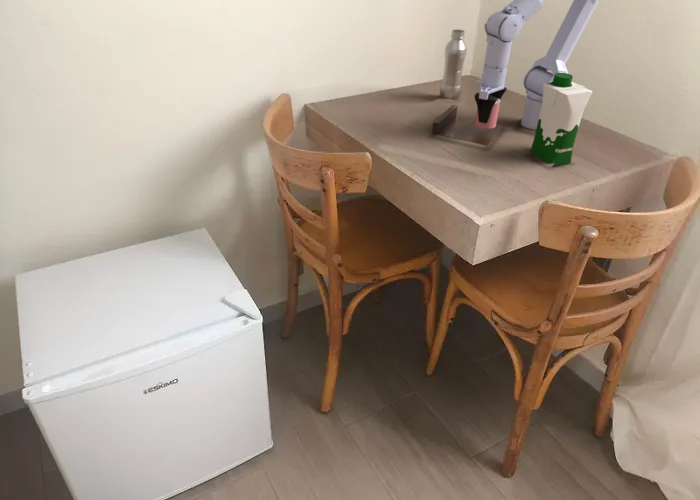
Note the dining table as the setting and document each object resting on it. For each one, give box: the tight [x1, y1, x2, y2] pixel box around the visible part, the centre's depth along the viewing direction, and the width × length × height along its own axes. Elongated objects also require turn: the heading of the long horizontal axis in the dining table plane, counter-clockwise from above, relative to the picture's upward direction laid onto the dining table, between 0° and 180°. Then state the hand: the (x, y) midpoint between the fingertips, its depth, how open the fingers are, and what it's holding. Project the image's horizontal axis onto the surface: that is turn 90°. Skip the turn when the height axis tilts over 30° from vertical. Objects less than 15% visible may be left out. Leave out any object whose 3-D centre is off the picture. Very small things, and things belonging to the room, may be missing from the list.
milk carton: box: [529, 73, 593, 167], centre depth 126 cm, size 9×9×20 cm
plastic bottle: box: [439, 29, 468, 101], centre depth 160 cm, size 6×7×20 cm
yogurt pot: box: [474, 97, 502, 129], centre depth 139 cm, size 6×6×7 cm
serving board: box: [431, 104, 504, 147], centre depth 143 cm, size 15×15×4 cm
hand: (486, 118), depth 140 cm, fingers closed on yogurt pot, 5 cm apart
